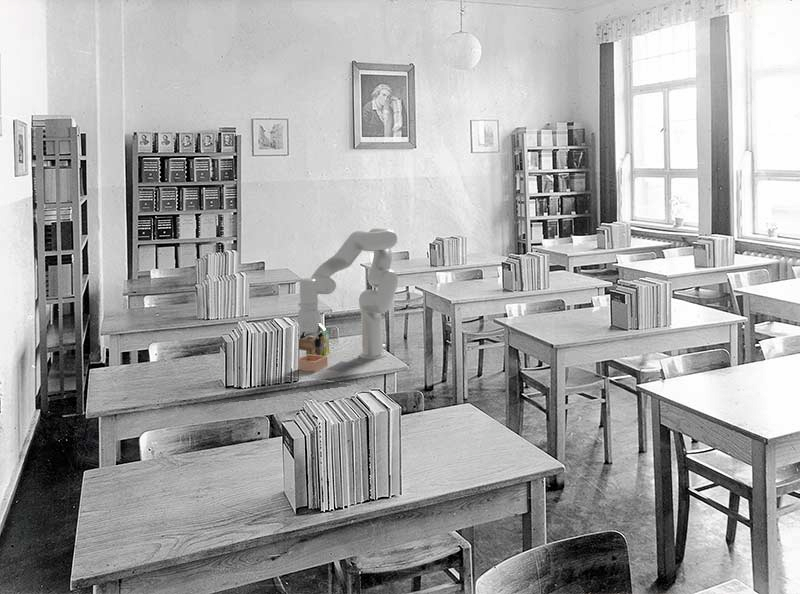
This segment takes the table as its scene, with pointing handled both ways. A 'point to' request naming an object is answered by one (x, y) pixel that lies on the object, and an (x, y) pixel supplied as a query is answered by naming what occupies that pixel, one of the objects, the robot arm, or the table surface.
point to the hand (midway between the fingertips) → (310, 345)
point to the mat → (343, 366)
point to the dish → (312, 363)
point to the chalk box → (323, 349)
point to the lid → (309, 343)
